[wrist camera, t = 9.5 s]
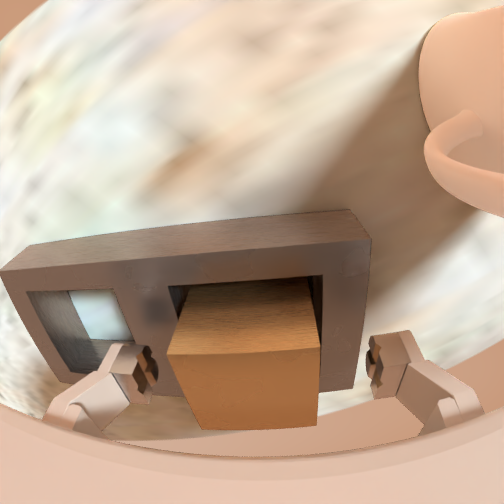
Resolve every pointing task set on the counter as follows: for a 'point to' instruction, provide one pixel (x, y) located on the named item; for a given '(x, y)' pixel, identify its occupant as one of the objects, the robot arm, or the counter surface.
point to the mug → (466, 106)
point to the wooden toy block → (249, 354)
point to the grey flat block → (183, 276)
